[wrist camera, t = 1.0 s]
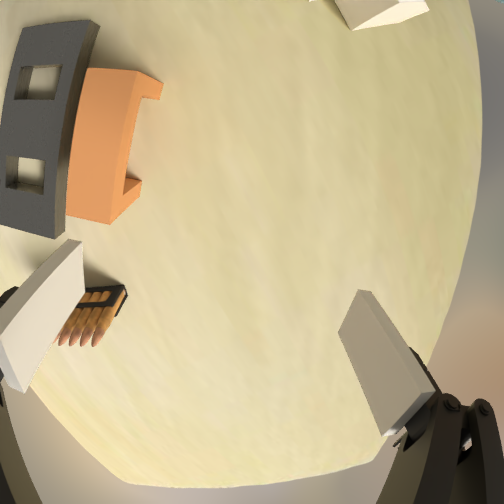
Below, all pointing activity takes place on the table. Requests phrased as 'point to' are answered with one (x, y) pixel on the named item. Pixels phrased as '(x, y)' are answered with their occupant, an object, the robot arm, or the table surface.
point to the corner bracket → (378, 11)
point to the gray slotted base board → (42, 124)
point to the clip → (105, 143)
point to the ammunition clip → (93, 315)
